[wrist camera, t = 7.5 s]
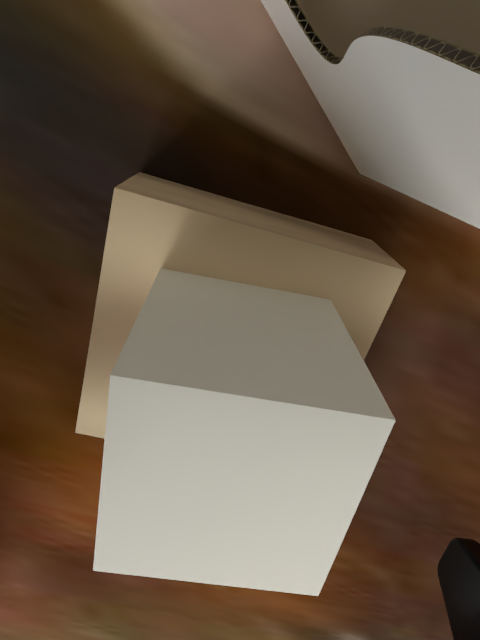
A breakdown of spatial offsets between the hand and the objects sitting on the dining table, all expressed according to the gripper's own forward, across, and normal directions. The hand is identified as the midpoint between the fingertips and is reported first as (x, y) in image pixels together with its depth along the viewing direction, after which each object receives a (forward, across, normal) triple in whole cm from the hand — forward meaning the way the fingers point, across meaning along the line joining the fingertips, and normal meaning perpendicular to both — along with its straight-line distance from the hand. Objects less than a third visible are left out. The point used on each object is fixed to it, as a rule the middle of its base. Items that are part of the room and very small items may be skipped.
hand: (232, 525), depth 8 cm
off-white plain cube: (+7, 0, 0) cm, 7 cm away
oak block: (+11, 0, 0) cm, 11 cm away
